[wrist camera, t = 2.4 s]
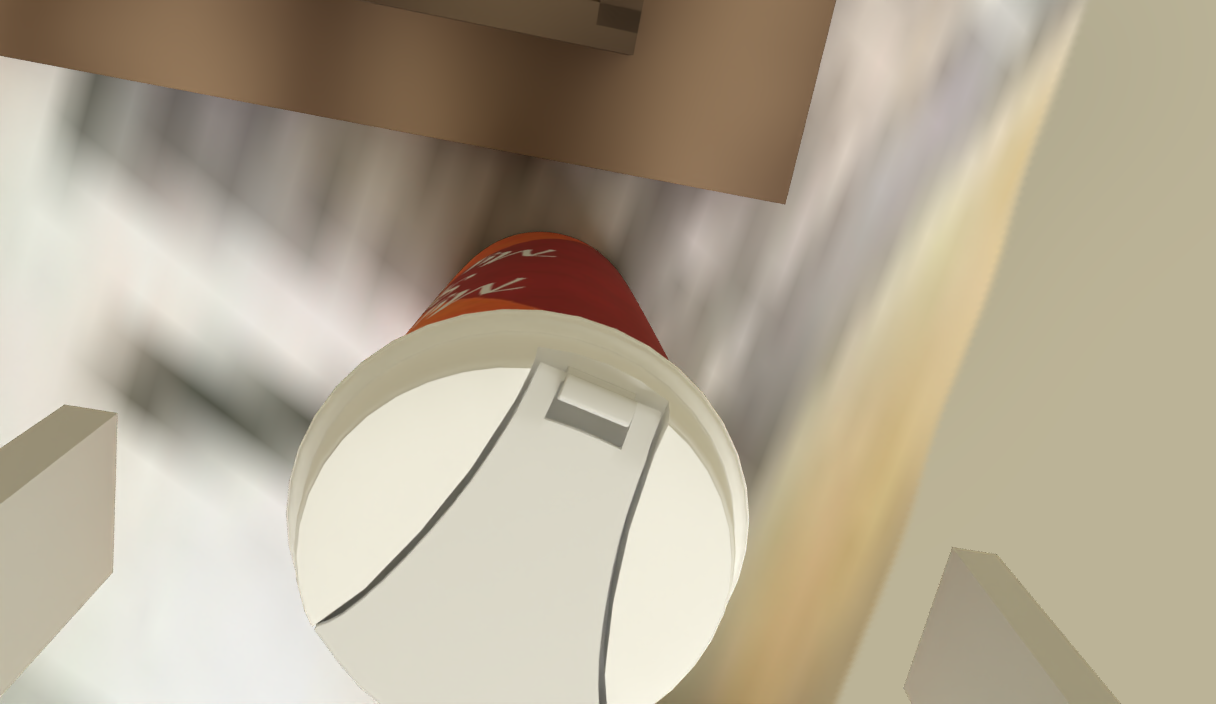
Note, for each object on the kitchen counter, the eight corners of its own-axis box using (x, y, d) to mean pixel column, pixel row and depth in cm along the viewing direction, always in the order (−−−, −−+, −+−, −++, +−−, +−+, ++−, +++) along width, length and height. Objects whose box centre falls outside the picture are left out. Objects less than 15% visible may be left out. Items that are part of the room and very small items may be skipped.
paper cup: (469, 149, 26) (364, 247, 12) (712, 258, 27) (854, 454, 14) (373, 388, 28) (193, 692, 14) (602, 479, 29) (633, 836, 16)
